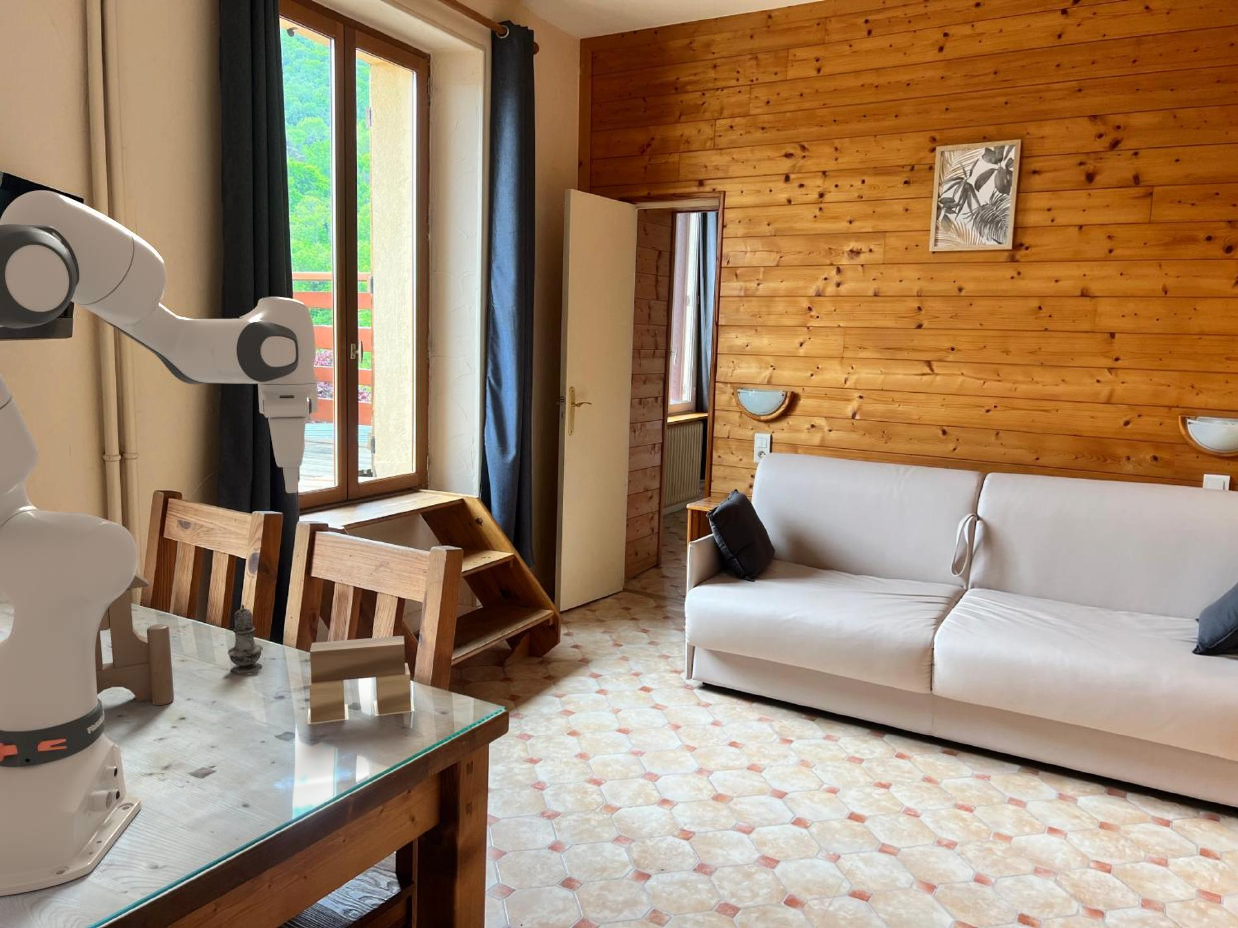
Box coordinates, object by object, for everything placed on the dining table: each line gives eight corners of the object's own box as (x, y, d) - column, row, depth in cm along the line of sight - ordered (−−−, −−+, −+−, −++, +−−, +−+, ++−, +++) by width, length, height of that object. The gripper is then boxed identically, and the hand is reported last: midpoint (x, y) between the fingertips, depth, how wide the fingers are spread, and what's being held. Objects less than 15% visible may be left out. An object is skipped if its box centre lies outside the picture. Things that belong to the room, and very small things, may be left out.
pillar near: (345, 718, 137) (343, 681, 136) (311, 722, 136) (309, 685, 135) (344, 705, 142) (343, 669, 141) (311, 709, 140) (309, 673, 140)
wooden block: (405, 674, 139) (404, 643, 139) (311, 682, 136) (309, 651, 135) (404, 665, 143) (403, 635, 142) (313, 673, 140) (311, 642, 139)
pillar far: (411, 710, 140) (409, 674, 139) (378, 714, 139) (377, 677, 138) (408, 698, 145) (407, 662, 144) (376, 701, 143) (375, 666, 143)
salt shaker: (269, 668, 159) (266, 604, 158) (237, 677, 155) (233, 611, 153) (255, 660, 163) (251, 597, 161) (222, 669, 159) (218, 604, 157)
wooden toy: (63, 723, 137) (48, 566, 133) (65, 707, 142) (51, 556, 139) (174, 703, 144) (164, 554, 141) (172, 689, 150) (161, 545, 146)
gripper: (271, 397, 150) (275, 478, 152) (263, 407, 131) (268, 499, 133) (310, 396, 152) (314, 476, 154) (308, 406, 132) (312, 497, 134)
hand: (293, 487), depth 143 cm, fingers open, 8 cm apart
